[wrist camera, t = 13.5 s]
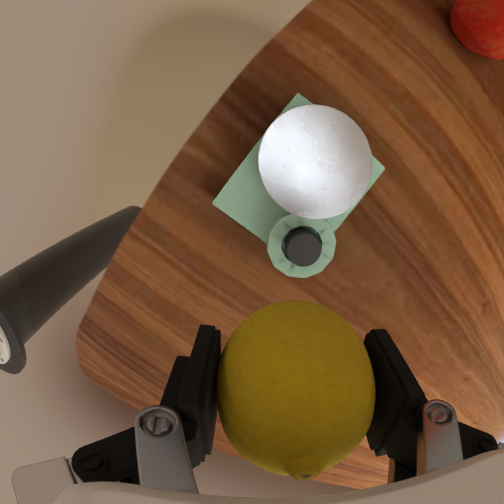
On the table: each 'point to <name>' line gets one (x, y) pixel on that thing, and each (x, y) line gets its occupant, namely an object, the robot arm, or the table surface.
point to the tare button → (303, 247)
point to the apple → (480, 26)
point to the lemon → (295, 389)
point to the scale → (279, 212)
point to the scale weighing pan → (314, 161)
